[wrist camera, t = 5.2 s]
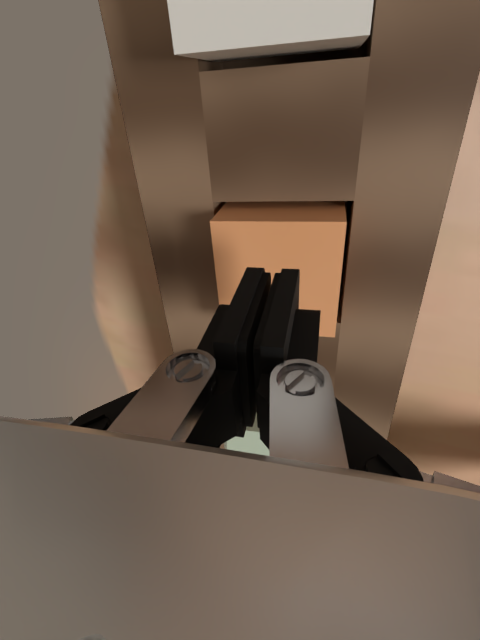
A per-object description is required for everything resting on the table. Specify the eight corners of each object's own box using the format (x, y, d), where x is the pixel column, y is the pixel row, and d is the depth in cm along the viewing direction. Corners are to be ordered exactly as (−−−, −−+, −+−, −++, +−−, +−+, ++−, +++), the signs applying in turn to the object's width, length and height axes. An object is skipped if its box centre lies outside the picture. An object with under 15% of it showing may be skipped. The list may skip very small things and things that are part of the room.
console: (106, -254, 11) (15, -389, 8) (540, -388, 9) (663, -664, 6) (212, 423, 29) (197, 467, 26) (367, 443, 26) (373, 494, 23)
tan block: (234, 192, 17) (209, 221, 13) (343, 191, 16) (346, 221, 12) (241, 286, 20) (221, 329, 16) (334, 290, 18) (334, 337, 15)
